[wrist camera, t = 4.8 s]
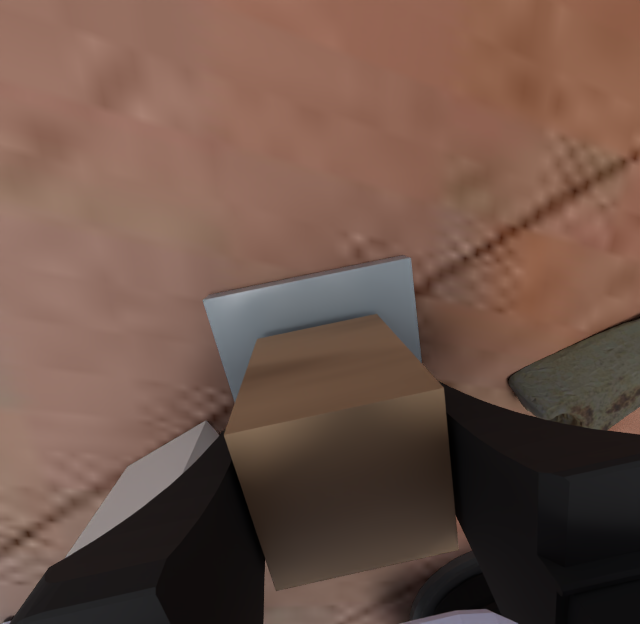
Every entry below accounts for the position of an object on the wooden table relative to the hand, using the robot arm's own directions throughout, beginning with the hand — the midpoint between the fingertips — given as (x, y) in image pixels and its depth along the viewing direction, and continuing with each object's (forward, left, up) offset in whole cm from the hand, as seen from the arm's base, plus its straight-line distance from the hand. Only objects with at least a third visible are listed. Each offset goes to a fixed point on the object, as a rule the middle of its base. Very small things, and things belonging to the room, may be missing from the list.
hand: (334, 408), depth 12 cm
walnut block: (0, 0, -2) cm, 2 cm away
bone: (-2, -16, -4) cm, 17 cm away
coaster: (0, 0, -4) cm, 4 cm away
